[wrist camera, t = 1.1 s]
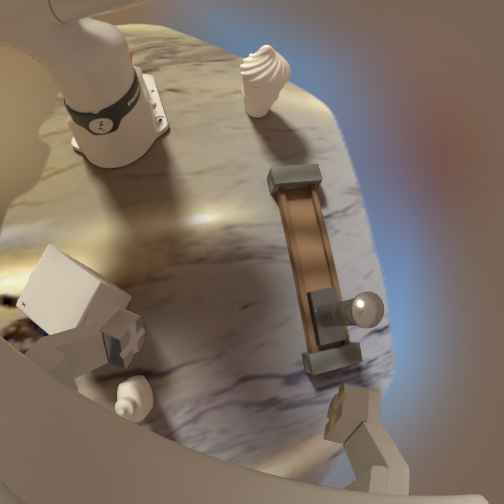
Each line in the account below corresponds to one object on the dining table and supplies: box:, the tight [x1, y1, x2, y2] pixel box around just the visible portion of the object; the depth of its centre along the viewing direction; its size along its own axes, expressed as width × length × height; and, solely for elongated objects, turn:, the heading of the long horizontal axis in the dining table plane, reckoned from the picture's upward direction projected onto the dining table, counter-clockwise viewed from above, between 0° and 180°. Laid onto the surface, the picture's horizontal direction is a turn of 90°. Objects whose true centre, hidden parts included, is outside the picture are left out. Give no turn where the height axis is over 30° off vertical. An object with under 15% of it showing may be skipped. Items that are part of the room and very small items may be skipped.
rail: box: [267, 164, 362, 375], centre depth 48 cm, size 32×8×4 cm, turn 10°
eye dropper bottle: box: [115, 375, 153, 422], centre depth 37 cm, size 4×6×12 cm
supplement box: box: [16, 244, 132, 335], centre depth 37 cm, size 9×9×15 cm
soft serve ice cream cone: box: [240, 45, 291, 118], centre depth 49 cm, size 8×8×16 cm
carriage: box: [307, 287, 384, 345], centre depth 40 cm, size 8×4×15 cm, turn 10°
